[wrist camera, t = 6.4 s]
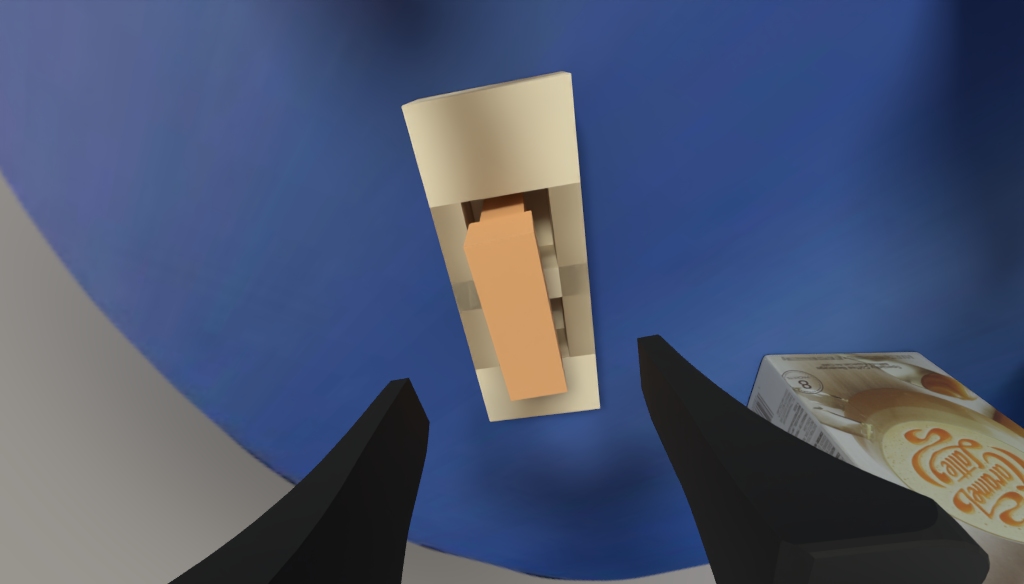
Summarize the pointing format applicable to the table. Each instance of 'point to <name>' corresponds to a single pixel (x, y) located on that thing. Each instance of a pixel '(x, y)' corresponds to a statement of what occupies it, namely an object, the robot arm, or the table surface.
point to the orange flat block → (515, 297)
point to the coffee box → (908, 437)
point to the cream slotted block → (548, 195)
